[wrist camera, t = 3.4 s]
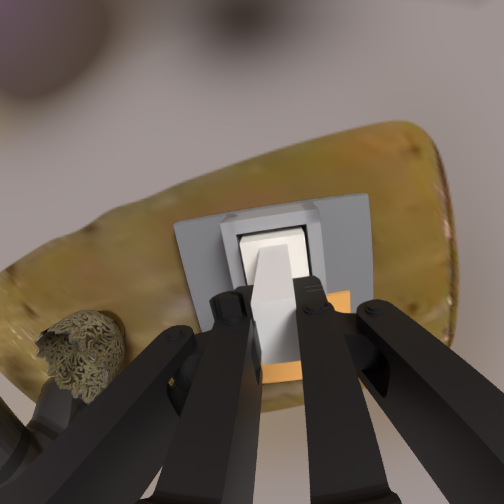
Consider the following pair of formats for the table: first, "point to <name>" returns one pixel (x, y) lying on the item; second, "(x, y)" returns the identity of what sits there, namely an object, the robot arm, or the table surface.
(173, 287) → the table surface
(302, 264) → the button
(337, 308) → the plate
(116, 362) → the cup
